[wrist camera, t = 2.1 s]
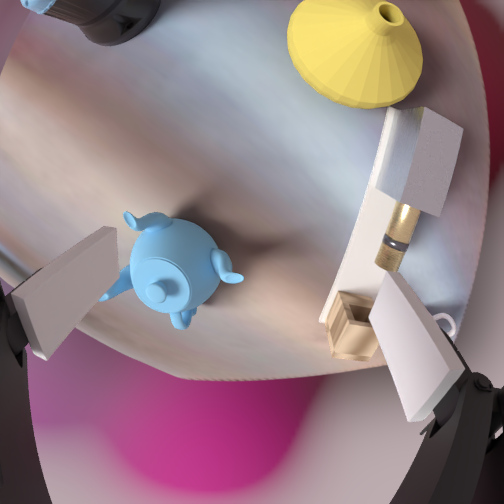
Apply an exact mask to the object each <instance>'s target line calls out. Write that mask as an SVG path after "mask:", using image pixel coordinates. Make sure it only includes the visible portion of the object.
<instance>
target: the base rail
mask: <svg viewBox="0 0 504 504" xmlns="http://www.w3.org/2000/svg"><path fill="white" fill-rule="evenodd" d="M395 110H397V109H395V108H392V107H390V106H389V107H388V109H387V113H386V118H385V122H384V126H383V130H382V134H381V138H380V142H379V146H378V150H377V154H376V158H375V161H374V165H373V169H372V172H371V176H370V179H369V182H368V186H367V189H366V192H365V196H364V199H363V202H362V205H361V208H360V212H359V215H358V218H357V221H356V224H355V227H354V230H353V232H352V235H351V238H350V241H349V244H348V247H347V249H346V252H345V255H344V258H343V260H342V263H341V266H340V268H339V271H338V274H337V276H336V279H335V281H334V284H333V286H332V289H331V291H330V294H329V296H328V299H327V301H326V303H325V306H324V308H323V311H322V313H321V315H320V318H319V322H321V323H325V320H326V317H327V315H328V313H329V311H330V308H331V306H332V304H333V301H334V299H335V297H336V294H337V292H338V291H343V292H348V293H352V294H357V295H362V296H367V297H372V299H373V301H375V299H376V297H377V295H378V292H379V290H380V287H381V284H382V282H383V279H384V276H385V273H386V270H384V269H382V268H380V267H379V266H377V265H376V264H375V262H374V261H375V258H376V256H377V253H378V251H379V248H380V245H381V243H382V239H383V237H384V234H385V232H386V229H387V227H388V224H389V221H390V218H391V215H392V212H393V209H394V206H395V203H396V200H395V199H393V198H391V197H390V196H388V195H387V194H385V193H383V192H381V191H380V190H378V189H376V188H375V185H376V182H377V179H378V175H379V172H380V168H381V165H382V161H383V157H384V154H385V150H386V146H387V142H388V138H389V134H390V130H391V126H392V121H393V117H394V112H395Z"/></svg>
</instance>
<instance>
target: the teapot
mask: <svg viewBox="0 0 504 504" xmlns="http://www.w3.org/2000/svg"><path fill="white" fill-rule="evenodd" d="M123 217H124V220H125V222H126V223H127V225H128V226H129V227H130V228H131V229H133V230H135V231H142V230H144V229H145V230H144V231H143V232H142V233H141V234H140V236H139V237H138V239H137V240H136V242H135V244H134V247H133V249H132V253H131V258H130V264H129V265H128V266H126V267H124V268H123V269H122V270H121V271H120V272H119V274H120V278H119V279H118V280H117V281H116V282H115V283H114V284H113V285H112V286H111V287H110V288H109V289H108V290H107V292H106V293H105V294H104V295H103V296H102V297H101V298H100V299H99V300H98V301H106V300H109V299H111V298H113V297H115V296H117V295H118V294H120V293H122V292H124V291H126V290H129V289H132V288H134V289H135V292H136V294H137V295H138V297H139V298H140V299H141V300H142V301H143V303H145V304H146V305H147V306H148V307H150V308H152V309H154V310H156V311H159V312H163V313H170V317H171V321H172V324H173V325H174V327H175V328H177V329H180V330H183V329H186V328H188V327H189V325H190V322H191V318H192V316H194V315H195V314H196V311H197V307H198V306H199V305H201V304H202V303H204V302H205V301H206V300H207V299H208V298H209V297H210V296H211V295H212V294H213V293H214V292H215V290H216V289H217V287H218V285H219V283H220V280H223V281H224V282H226V283H232V284H234V283H239V282H242V281H243V280H244V277H243V276H242V275H241V274H238V273H234V272H232V263H231V260H230V257H229V256H228V254H227V253H226V252H224V251H222V250H220V249H218V247H217V245H216V243H215V242H214V240H213V239H212V237H211V236H210V235H209V234H208V233H207V232H206V231H205V230H204V229H202V228H201V227H200V226H198V225H196V224H194V223H192V222H190V221H187V220H183V219H176V218H169V217H167V216H166V215H164V214H163V213H159V212H154V213H149V214H147V215H145V216H143V217H141V218H139V219H138V218H136V217H134V216H133V215H132V214H131V213H129V212H127V211H126V212H124V213H123ZM181 312H182V314H181Z"/></svg>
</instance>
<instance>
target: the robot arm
mask: <svg viewBox="0 0 504 504" xmlns="http://www.w3.org/2000/svg"><path fill="white" fill-rule="evenodd" d="M21 3H22V5H23V6H24V7H25V8H28V9H30V10H32V11H35V12H36V13H38V14H45V15H48V16H51V17H54V18H57V19H60V20H63V21H66V22H69V23H72V24H75V25H77V26H78V27H79V28H80V29H81V31H82V32H83V33H84V34H85V36H86V37H87V38H88V39H89V40H90V41H92V42H94V43H97V44H99V45H103V46H112V45H117V44H120V43H123V42H125V41H127V40H129V39H131V38H132V37H134V36H135V35H137V34H138V33H139V32H141V31H142V30H143V29H144V28H145V27H146V26H147V25H148V24H149V23H150V21H151V20H152V19H153V17H154V16H155V14H156V12H157V10H158V8H159V5H160V0H21ZM119 278H120V274H119V263H118V249H117V230H116V228H113V227H106V226H103V227H102V228H100V229H99V230H97V231H96V232H94V233H93V234H91V235H89V236H88V237H86V238H85V239H83V240H82V241H80V242H79V243H77V244H76V245H75V246H73V247H72V248H70V249H69V250H67V251H66V252H64V253H63V254H62V255H60V256H59V257H57V258H56V259H55V260H53V261H52V262H51V263H49V264H48V265H46V266H45V267H43V268H41V269H39V270H38V271H36V272H35V273H34V274H32V276H30V277H29V278H27V279H26V281H23V282H22V283H21V284H20V285H18V286H17V287H16V288H15V289H13V290H12V291H11V292H10V293H9V294H7V295H6V296H5V295H4V292H3V289H2V286H1V282H0V504H52V502H51V499H50V496H49V493H48V489H47V487H46V483H45V480H44V477H43V472H42V469H41V465H40V461H39V456H38V453H37V448H36V442H35V437H34V431H33V425H32V419H31V412H30V411H31V410H30V402H29V391H28V376H27V353H26V350H25V348H24V347H25V346H26V345H27V344H28V343H29V344H30V347H31V349H32V351H33V353H34V354H35V355H37V356H39V357H41V358H42V359H44V360H46V361H47V360H48V359H49V358H50V356H51V355H52V354H53V353H54V351H55V350H56V349H57V348H58V346H59V345H60V344H61V343H62V342H63V340H64V339H65V338H66V337H67V336H68V334H69V333H70V332H71V331H72V330H73V329H74V327H75V326H76V325H77V324H78V323H79V322H80V320H81V319H82V318H83V317H84V316H85V315H86V314H87V312H88V311H89V310H90V309H91V308H92V307H93V306H94V305H95V304H96V302H97V301H98V300H99V299H100V298H101V297H102V296H103V295H104V294H105V293H106V292H107V290H108V289H109V288H110V287H111V286H112V285H113V284H114V283H115V282H116V281H117V280H118V279H119ZM368 318H369V320H370V322H371V325H372V327H373V329H374V332H375V334H376V336H377V339H378V341H379V344H380V346H381V349H382V351H383V354H384V356H385V359H386V361H387V364H388V366H389V369H390V372H391V374H392V377H393V380H394V383H395V385H396V388H397V391H398V394H399V397H400V399H401V402H402V405H403V408H404V411H405V414H406V417H407V420H408V422H415V421H422V420H424V419H425V418H426V417H427V416H428V415H429V414H430V413H431V412H432V411H434V414H435V418H434V419H433V420H432V421H431V422H430V423H429V424H428V425H427V426H426V427H425V428H424V429H423V430H422V432H421V433H420V435H422V434H423V433H424V432H426V431H427V432H426V435H425V437H424V440H423V442H422V444H421V446H420V448H419V451H418V453H417V455H416V457H415V459H414V461H413V463H412V465H411V467H410V469H409V471H408V473H407V474H406V477H405V478H404V480H403V482H402V484H401V485H400V487H399V489H398V490H397V492H396V494H395V496H394V497H393V499H392V501H391V502H390V504H504V386H503V387H502V388H501V389H499V388H494V387H493V385H492V383H491V381H490V380H489V379H488V378H487V377H486V376H484V375H483V374H480V373H478V372H473V373H472V372H471V370H470V369H469V367H468V365H467V364H466V362H465V360H464V359H463V357H462V355H461V354H460V352H459V351H457V348H456V346H455V344H453V341H452V340H451V338H450V337H449V335H448V334H447V333H446V332H445V331H444V330H442V329H441V328H440V327H439V326H438V325H437V323H436V322H435V320H434V319H433V317H432V316H431V315H430V313H429V312H428V310H427V309H426V308H425V306H424V305H423V303H422V302H421V301H420V299H419V298H418V296H417V295H416V294H415V292H414V291H413V290H412V288H411V287H410V286H409V284H408V283H407V282H406V280H405V279H404V278H403V277H402V275H401V274H400V273H398V272H392V271H386V273H385V276H384V279H383V282H382V284H381V287H380V290H379V292H378V295H377V297H376V300H375V303H374V305H373V307H372V310H371V312H370V315H369V317H368ZM502 426H503V433H502V434H501V435H500V436H499V437H498V438H496V439H495V433H496V432H497V431H498V430H499V429H500V428H501V427H502Z"/></svg>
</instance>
